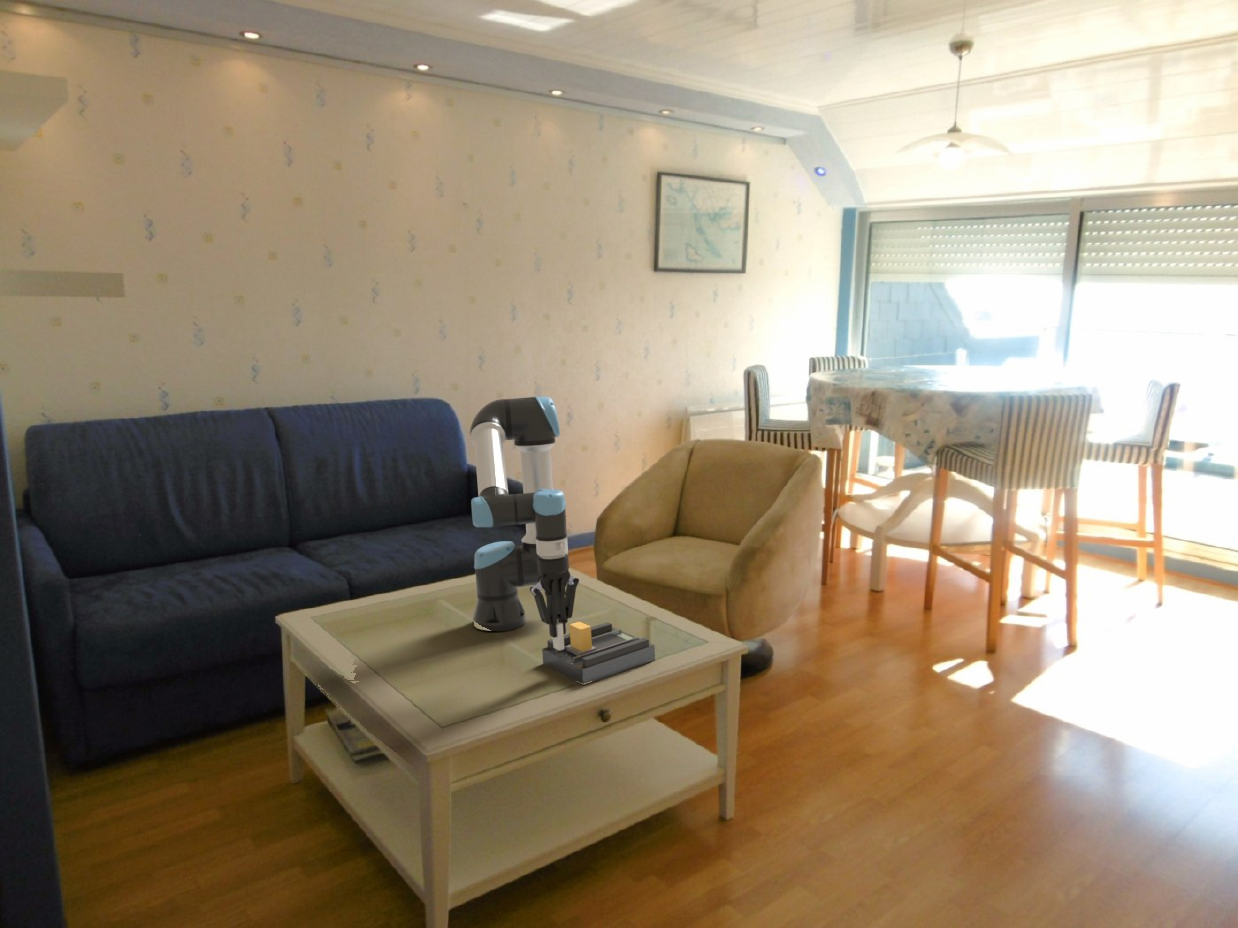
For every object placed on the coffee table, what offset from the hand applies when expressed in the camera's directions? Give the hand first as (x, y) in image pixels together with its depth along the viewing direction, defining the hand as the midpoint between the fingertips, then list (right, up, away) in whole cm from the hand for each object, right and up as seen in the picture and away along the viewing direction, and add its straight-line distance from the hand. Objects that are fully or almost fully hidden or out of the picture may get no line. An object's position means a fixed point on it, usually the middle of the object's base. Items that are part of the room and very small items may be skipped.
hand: (558, 648), depth 214 cm
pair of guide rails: (+9, -1, +7) cm, 12 cm away
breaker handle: (+5, -2, +4) cm, 7 cm away
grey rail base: (+10, -5, +8) cm, 13 cm away
